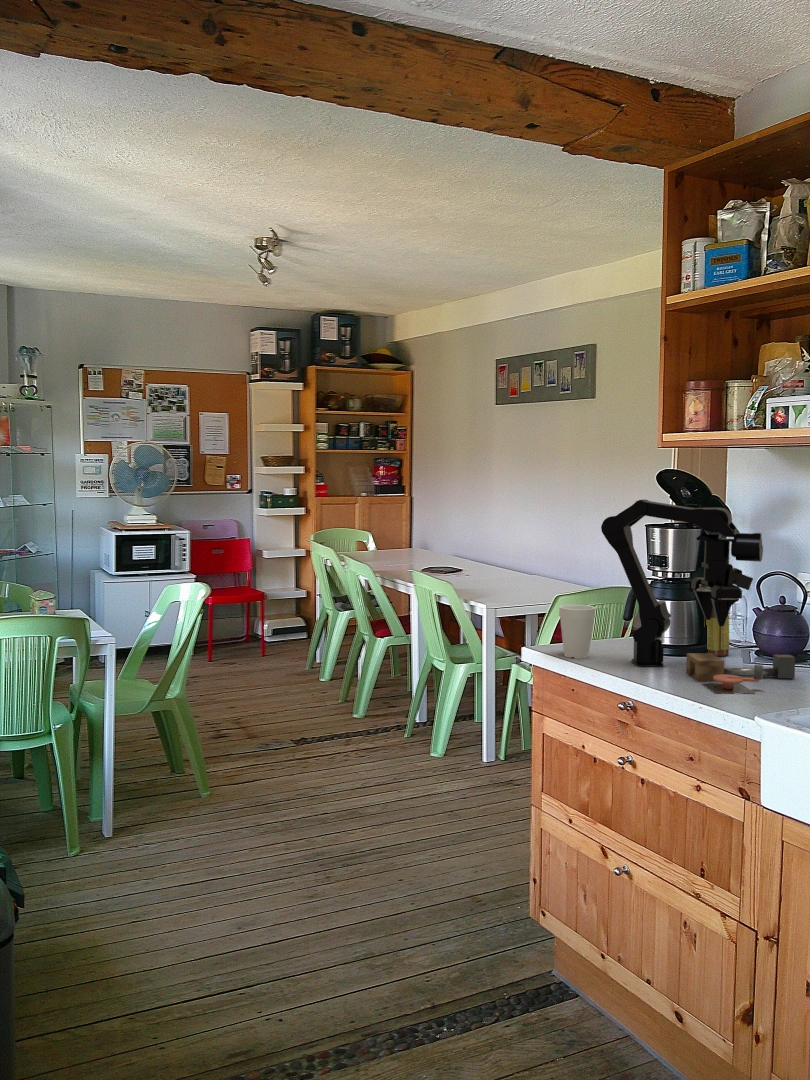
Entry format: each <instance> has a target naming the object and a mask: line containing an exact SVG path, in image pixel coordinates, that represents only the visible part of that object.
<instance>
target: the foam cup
mask: <svg viewBox="0 0 810 1080" xmlns="http://www.w3.org/2000/svg"><path fill="white" fill-rule="evenodd" d="M558 614H559V615H558V616H559V617H560V620H559V621H560V628H561V639H562V648H563V655H566V656H568V657H567V658H569V657H574V658H573V659H585V658H584V657H587V658H588V657H589V654H590V649H591V640H592V636H593V635H592V634H593V630H594V627H593V626H594V623H595V622H594V621H595V618H596V607H595V606H593V605H587V604H572V603H571V604H570V603H569V604H562V605H559V613H558ZM566 656H565V657H566Z"/></svg>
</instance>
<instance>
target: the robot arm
mask: <svg viewBox="0 0 810 1080" xmlns="http://www.w3.org/2000/svg"><path fill="white" fill-rule="evenodd" d="M644 517H649V518H650V517H652V518H657V519H662V520H663V519H664V520H670V521H675V522H680V523H689V524H691V525H693V526H696V527H699V528H700V529H702V532H701V534H700V535H699V536H696V540H697V541H704V557H703V558H704V559H703V562H701V567H702V568H703V577H694V578H693V579H692V580H691V581H690V583H691V584H690V585H691V587H690V589H692V591H693V594H694V595H695V598H696V600H697V602H698V604H699V607H700V610H701V611H702V614H703V616H704V620H705V619H706V620H710V619H711V615H712V609H713V608H714V611H715V615H716V618H717V621H718V624H719V626H724V624H725V621H726V618H727V616H728V613H729V612H730V609H731V608H732V606H733V605H734V604H736V602H739V601H740V599H743V590H742V589H744V590H747V591H749V590H750V588H751V585H752V583H753V580H754V578H753V577H751V576H748V575H746V574H743V570H741V569H739V568H736V567H734V566H733V564H731V563H730V554H731V556H732V557H734V558H735V560H736V561H741V562H742V561H743V562H762V560H763V555H764V554H763V553H764V545H763V538H762V533H761V532H755V533H754V532H753V533H746V532H740V531H739V530H738V528H737V527H736V525H735V524H734V522H732V521H733V517H732V513H730V511H729V510H728V509H727V508H724V507H688V506H683V505H676V504H669V503H663V502H657V501H651V500H648V499H639V500H635V502H634V503H633V504H632V505H630V506H629V507H627V508H626V509H624V510H623V511H621V512H619V513H617V515H612V516H608V517H606V518H605V519H604V520H603V521H602V524H601V526H600V530H601V532H602V534H603V537H604V538H605V539H606V541H607V543H608V544H609V545H610V547H612V549H613V550H614V551H615V552H616V553H617V556H618V559H619V560H620V563H621V565H622V568H623V571H624V573H625V574H626V577H627V580H628V582H629V585H630V586H631V587H630V588H631V589H632V591H633V594H634V596H635V599H636V601H637V604H638V614H639V621H640V625H641V626H639V628H637V629H636V630H635V631H633V632H632V637H633V658H632V659H631V662H632V663H633V664H634V665H636V666H637V667H663V666H664V645H663V644H662V640H661V638H662V635H663V634H664V633H665V632H667V631H668V630H669V628H670V625H671V617H672V615H671V613H670V612H669V610H668V608H667V604H666V601H663V602H661V603H660V602H659V601H658V599H656V597H655V596H654V595H655V594H654V593H653V591H652V588H651V585H650V583H649V580H648V578H647V576H646V573H645V571H644V569H643V566H642V564H641V562H640V559H639V557H638V554H637V553H636V550H635V548H634V540H633V531H632V527H633V526H634V525H635V524H636V523H638V522H639V521H640V520H641V519H643V518H644ZM703 529H704V530H703ZM708 531H709V532H713V533H709V532H708ZM722 536H723V537H722ZM730 544H731V545H730ZM730 546H731V547H730ZM730 548H731V549H730ZM729 614H730V613H729Z"/></svg>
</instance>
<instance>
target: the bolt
mask: <svg viewBox="0 0 810 1080" xmlns="http://www.w3.org/2000/svg"><path fill="white" fill-rule="evenodd" d="M724 674H727V675H735V676H739V677H743V678H754V667H724ZM795 675H796V657H795V656H794V655H791V654H773V655H772V667H763V678H764V677H767V678H768V677H769V678H770V677H772V678H773V677H775V678H777V679H795V678H796V677H795Z"/></svg>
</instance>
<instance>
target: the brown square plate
mask: <svg viewBox="0 0 810 1080" xmlns="http://www.w3.org/2000/svg"><path fill="white" fill-rule="evenodd" d="M700 683H701V685H702V686H703V685H704V686H703V687H705V686H706V687H707V688H706V687H705V688H706V689H708V688H709V689H710V690H711V691H710V690H709V689H708V690H709V691H710V692H712V691H713V692H714V693H713V692H712V693H713V694H715V693H749V694H748V695H755V694H756V692H754V691H753V690H751V689H750V688H749V687H746V686H745V685H743V684H742V683H736V684H734V686H733V689H725V688H722V683H721V682H700Z"/></svg>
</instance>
